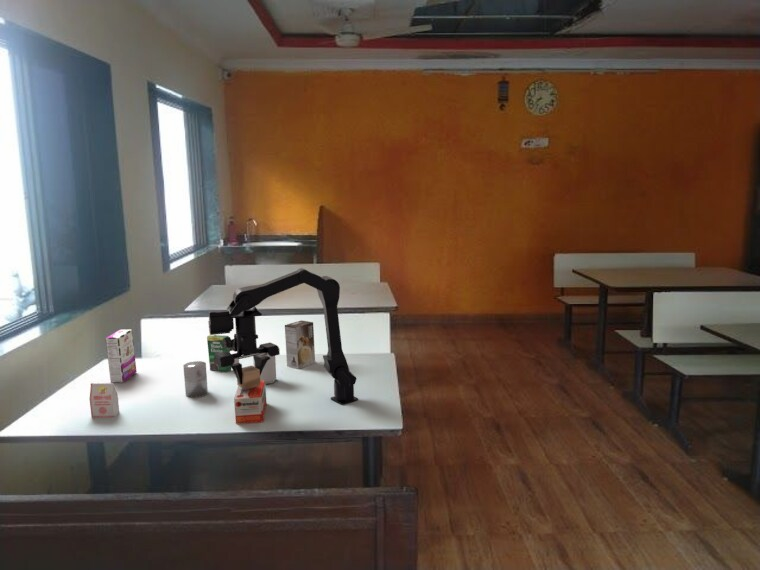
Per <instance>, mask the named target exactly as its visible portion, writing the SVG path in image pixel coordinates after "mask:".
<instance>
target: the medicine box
mask: <svg viewBox="0 0 760 570" xmlns="http://www.w3.org/2000/svg"><path fill="white" fill-rule="evenodd" d="M266 385H267V384H265V381H260V386H257V387H253V388H249V389H243V388H242V387H240V386H238V385H237V389H236V392H235V394H234V398H233V404H234V415H235V424H236V425H239V424H240V425H241V424H252V423H253V424H255V423H263V422H264V419H265V414H266V409H267V408H266V407H267V403H268V402H267V386H266Z"/></svg>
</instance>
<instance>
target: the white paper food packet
mask: <svg viewBox="0 0 760 570" xmlns="http://www.w3.org/2000/svg"><path fill="white" fill-rule="evenodd" d="M89 391H90V392H89V407H90V415H91V418H114V417H116V416H117V415H118V414H119V413H120V405H119V396H118V395H119V394H118V391H117V389H116V386H115V383H111V382H96V383H94V382H93V383H92V382H91V383H90V390H89Z"/></svg>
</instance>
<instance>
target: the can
mask: <svg viewBox="0 0 760 570" xmlns="http://www.w3.org/2000/svg"><path fill="white" fill-rule="evenodd" d="M257 348H259V346H257ZM268 357H270V360H268V361H267V362H266V364H265V366H264V368H263V370H262V373H261V375H260V381H265V385H269V384H272V383H274V382H275V381H276V379H277V367H276V366H277V363H276V361H277V360H276V356H272V357H271V356H270V355H268ZM252 358H253V359H252V360H253V366H254V367H255V360H254V357H253V356H252Z"/></svg>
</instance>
